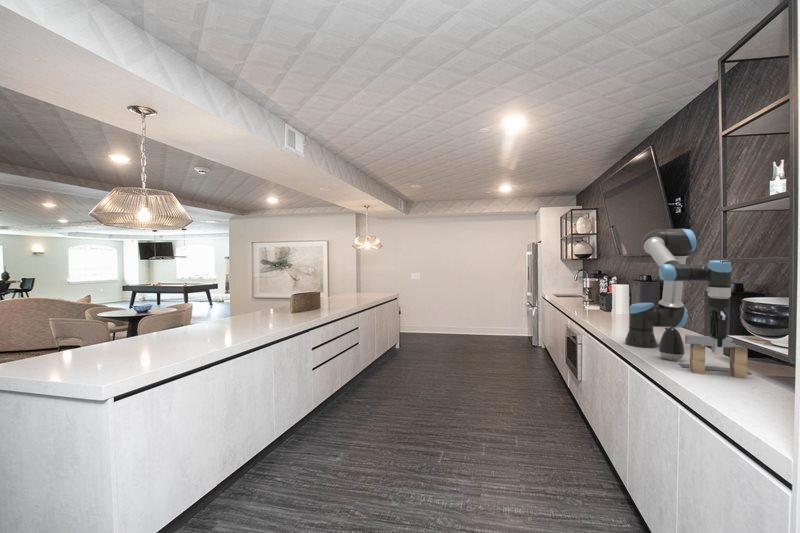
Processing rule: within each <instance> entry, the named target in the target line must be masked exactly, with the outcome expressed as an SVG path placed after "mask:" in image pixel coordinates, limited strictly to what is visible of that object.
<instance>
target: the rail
mask: <svg viewBox="0 0 800 533" xmlns="http://www.w3.org/2000/svg"><path fill="white" fill-rule="evenodd" d="M732 338H733V337H728V336H726V339H724V342H723V348H730V347H733V348H743V349H747V348H745V347H742V346H739V345H736V344H734V343H731V342H732V341H733V339H732ZM684 343H685V344H686V345H690V344H693V345H702V346H705V347H706V346H708V347H712V346H715V339H714V336H712V335H698V334H697V335H696V334H685V336H684Z"/></svg>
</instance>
